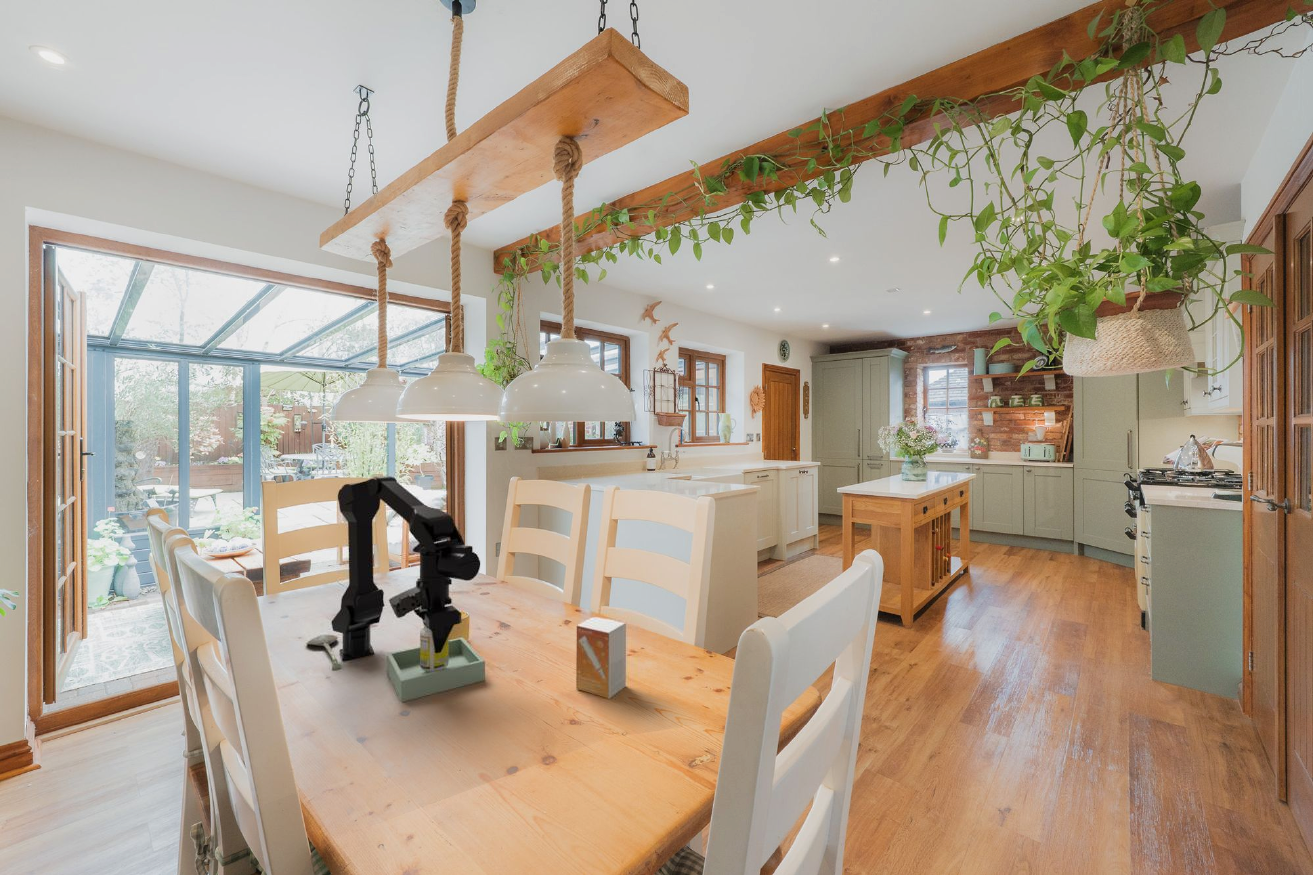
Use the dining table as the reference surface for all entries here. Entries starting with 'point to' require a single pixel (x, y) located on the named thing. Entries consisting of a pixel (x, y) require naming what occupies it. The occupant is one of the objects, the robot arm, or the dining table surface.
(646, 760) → the dining table surface
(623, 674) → the small box
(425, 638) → the supplement bottle
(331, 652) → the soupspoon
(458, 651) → the open box
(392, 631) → the dining table surface
